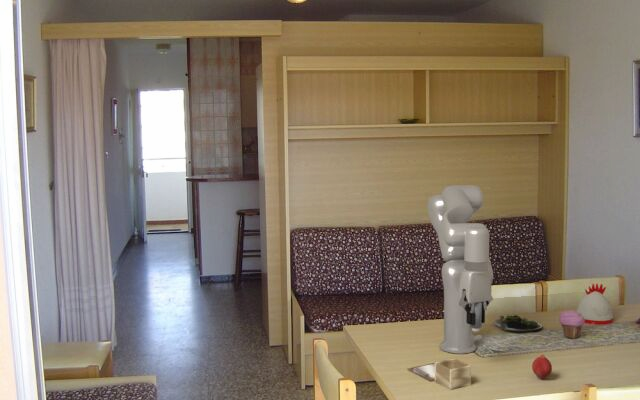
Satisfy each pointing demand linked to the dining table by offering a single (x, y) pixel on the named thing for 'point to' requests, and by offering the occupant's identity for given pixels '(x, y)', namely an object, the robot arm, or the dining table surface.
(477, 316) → the cylinder
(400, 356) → the dining table surface
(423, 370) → the clipboard
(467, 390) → the dining table surface
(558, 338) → the dining table surface
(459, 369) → the wooden box
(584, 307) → the white and red dome
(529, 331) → the salad plate
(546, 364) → the onion
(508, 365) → the dining table surface
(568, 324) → the cupcake
